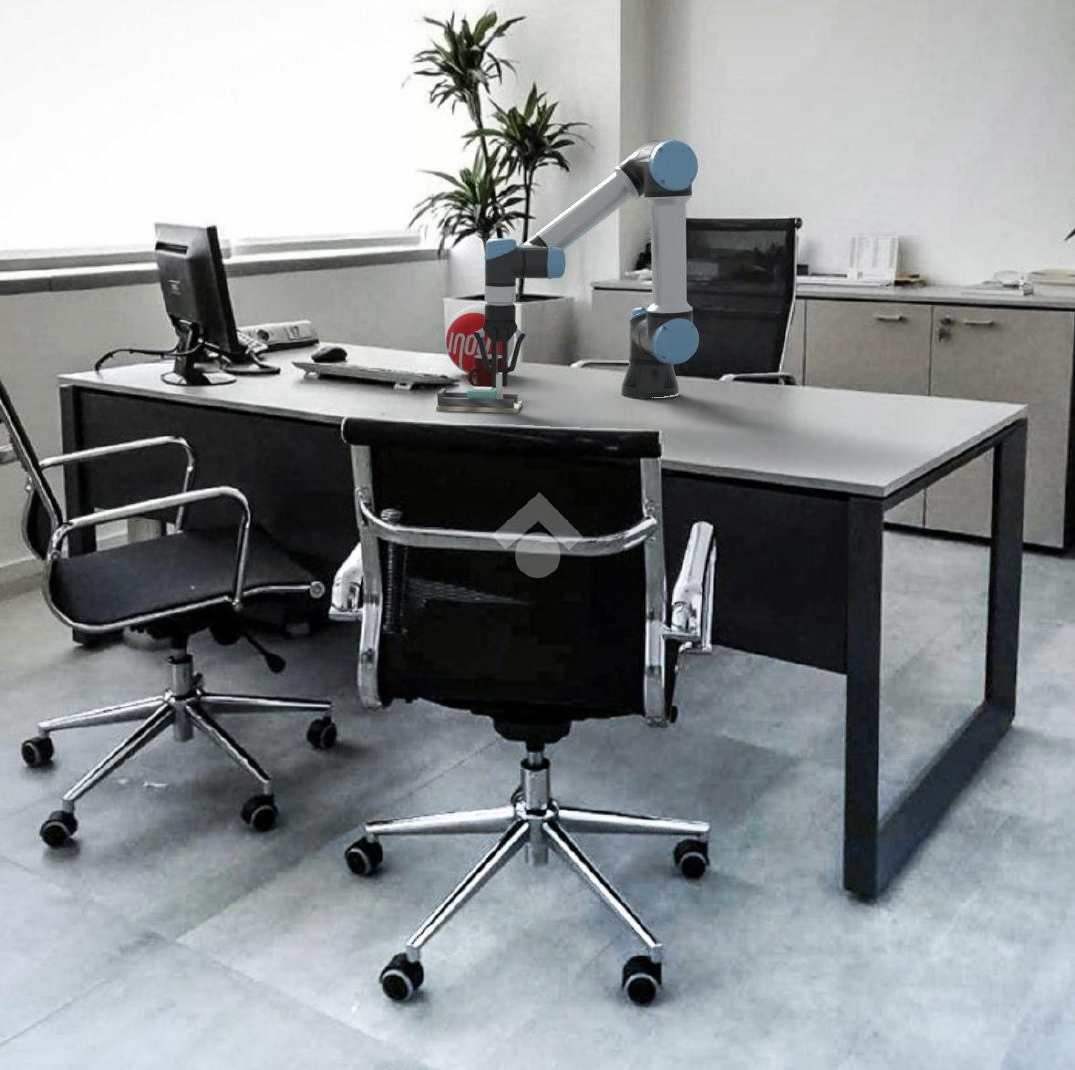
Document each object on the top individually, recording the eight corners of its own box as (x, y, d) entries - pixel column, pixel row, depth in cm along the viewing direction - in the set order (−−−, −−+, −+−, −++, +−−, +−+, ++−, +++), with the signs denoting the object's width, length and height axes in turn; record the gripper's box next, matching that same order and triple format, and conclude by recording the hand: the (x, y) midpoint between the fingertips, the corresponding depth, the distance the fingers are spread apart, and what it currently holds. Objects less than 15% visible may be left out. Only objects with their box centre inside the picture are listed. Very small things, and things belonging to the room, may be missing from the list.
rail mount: (521, 405, 333) (522, 389, 332) (517, 412, 322) (517, 396, 321) (443, 402, 334) (443, 387, 333) (436, 410, 324) (436, 394, 323)
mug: (481, 399, 340) (481, 360, 337) (460, 395, 345) (460, 357, 343) (510, 394, 348) (510, 356, 345) (489, 390, 353) (489, 353, 350)
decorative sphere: (436, 378, 371) (435, 307, 366) (456, 368, 390) (455, 300, 385) (504, 382, 367) (505, 309, 362) (521, 371, 386) (521, 302, 380)
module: (498, 402, 330) (498, 386, 329) (495, 406, 325) (495, 390, 323) (470, 401, 331) (470, 385, 330) (466, 405, 325) (466, 389, 324)
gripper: (528, 302, 324) (527, 397, 330) (475, 301, 325) (475, 396, 331) (525, 305, 317) (524, 402, 323) (471, 304, 318) (471, 401, 324)
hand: (499, 399), depth 327 cm, fingers closed
